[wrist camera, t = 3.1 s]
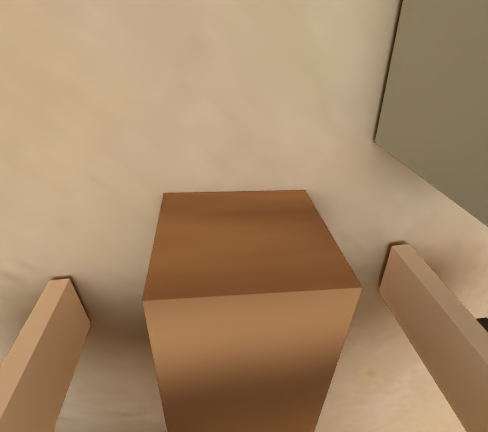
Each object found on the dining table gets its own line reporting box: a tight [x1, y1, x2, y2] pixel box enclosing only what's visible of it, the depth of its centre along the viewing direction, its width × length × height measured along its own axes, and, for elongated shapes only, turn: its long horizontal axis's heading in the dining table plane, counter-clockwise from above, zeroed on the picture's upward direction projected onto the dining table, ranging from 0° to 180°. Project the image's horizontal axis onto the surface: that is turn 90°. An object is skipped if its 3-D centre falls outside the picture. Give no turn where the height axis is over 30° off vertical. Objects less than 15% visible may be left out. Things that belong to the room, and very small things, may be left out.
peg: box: [142, 190, 363, 432], centre depth 12 cm, size 9×5×5 cm, turn 178°
